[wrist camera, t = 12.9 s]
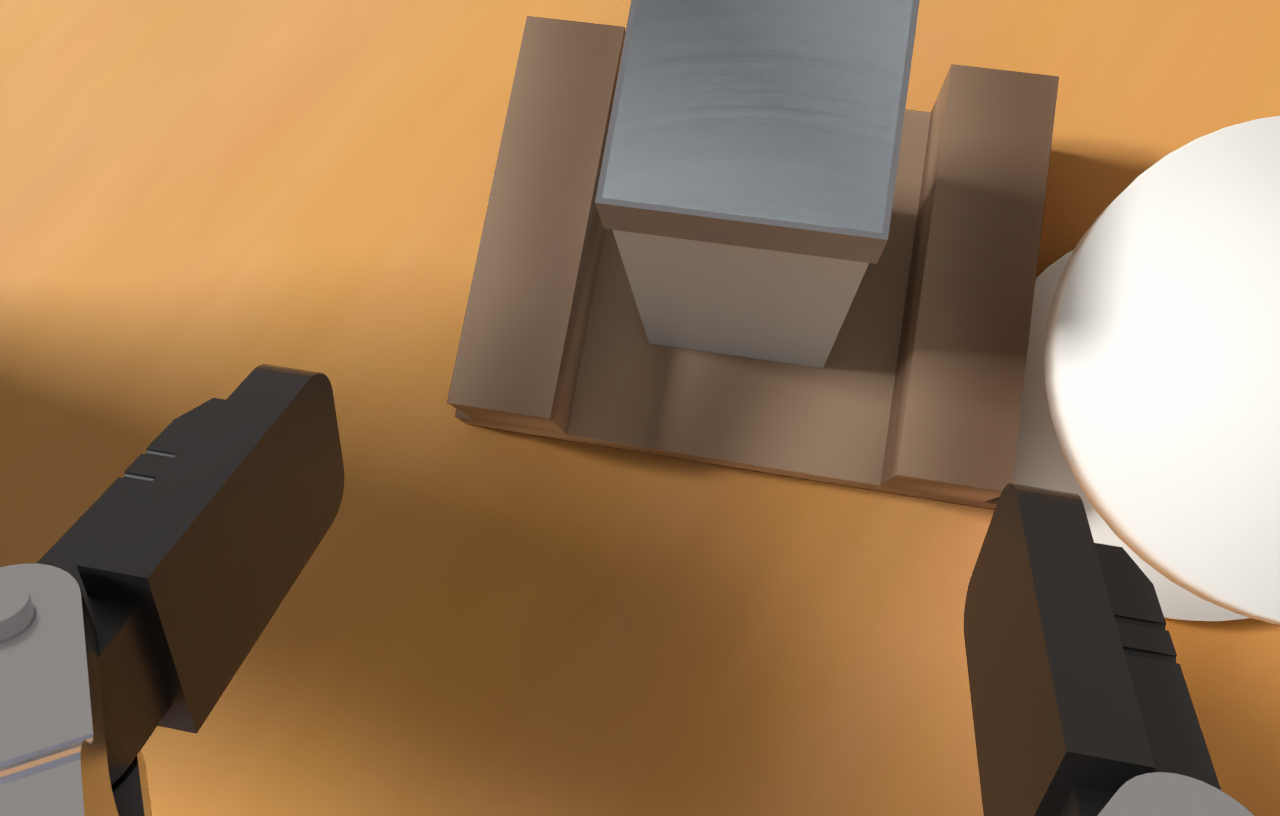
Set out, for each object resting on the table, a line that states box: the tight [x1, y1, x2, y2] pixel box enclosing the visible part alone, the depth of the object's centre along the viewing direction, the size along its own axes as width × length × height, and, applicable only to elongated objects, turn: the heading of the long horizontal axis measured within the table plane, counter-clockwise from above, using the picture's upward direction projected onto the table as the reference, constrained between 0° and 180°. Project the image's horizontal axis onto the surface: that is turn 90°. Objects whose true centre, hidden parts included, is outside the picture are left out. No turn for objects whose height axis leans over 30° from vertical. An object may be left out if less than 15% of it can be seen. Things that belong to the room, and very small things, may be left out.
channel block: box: [447, 16, 1059, 509], centre depth 26 cm, size 14×10×4 cm
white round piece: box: [1012, 116, 1280, 625], centre depth 22 cm, size 10×10×7 cm
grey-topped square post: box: [595, 0, 919, 368], centre depth 21 cm, size 5×5×10 cm
